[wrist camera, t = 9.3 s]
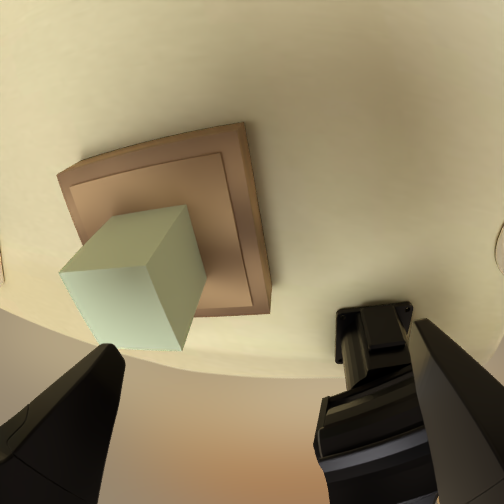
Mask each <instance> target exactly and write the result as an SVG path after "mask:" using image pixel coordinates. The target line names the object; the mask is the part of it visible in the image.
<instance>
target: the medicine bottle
mask: <svg viewBox="0 0 504 504" xmlns="http://www.w3.org/2000/svg"><path fill="white" fill-rule="evenodd" d="M3 283H4V277H3V270H2V263H1V255H0V286H1V285H2V284H3Z"/></svg>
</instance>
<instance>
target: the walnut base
mask: <svg viewBox="0 0 504 504" xmlns="http://www.w3.org/2000/svg"><path fill="white" fill-rule="evenodd" d="M57 178H58V181H59V184H60V187H61V190H62V193H63V196H64V199H65V201H66V204H67V207H68V209H69V212H70V215H71V217H72V220H73V222H74V225H75V228H76V230H77V232H78V235H79V237H80V240H81V242H82V244H83V245H84V244H85V243H86V242H87V241H88V240H89V239H90V238H91V237H92V236H93V235H94V234H95V233H96V232H97V231H98V230H99V229H100V228H101V227H102V226H103V225H104V224H105V223H106V222H107V221H108V220H109V219H110V218H111V217H112V216H117V215H123V214H129V213H134V212H140V211H146V210H153V209H159V208H165V207H172V206H178V205H185V204H186V205H187V209H188V212H189V216H190V220H191V224H192V227H193V231H194V234H195V238H196V242H197V245H198V249H199V252H200V256H201V259H202V263H203V266H204V270H205V273H206V276H207V280H206V282H205V285H204V288H203V291H202V294H201V297H200V300H199V303H198V306H197V309H196V311H195V314H194V317H219V316H240V315H258V314H270V307H271V293H272V284H271V277H270V271H269V265H268V259H267V253H266V247H265V241H264V235H263V229H262V223H261V217H260V211H259V205H258V199H257V193H256V188H255V182H254V176H253V170H252V164H251V159H250V153H249V147H248V142H247V136H246V131H245V125H244V122H241V123H235V124H229V125H223V126H217V127H212V128H206V129H201V130H196V131H191V132H186V133H182V134H177V135H173V136H168V137H164V138H160V139H156V140H152V141H148V142H144V143H140V144H136V145H132V146H128V147H125V148H121V149H118V150H114V151H111V152H107V153H104V154H101V155H97V156H94V157H91V158H88V159H85V160H82V161H79V162H78V163H76V164H74V165H72V166H71V167H69V168H67V169H65V170H64V171H62V172H60V173H59V174H57Z"/></svg>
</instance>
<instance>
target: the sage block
mask: <svg viewBox="0 0 504 504" xmlns="http://www.w3.org/2000/svg"><path fill="white" fill-rule="evenodd" d="M59 275H60V277H61V279H62V281H63V283H64V285H65V286H66V288H67V290H68V292H69V294H70V296H71V298H72V300H73V301H74V303H75V305H76V307H77V309H78V310H79V312H80V314H81V316H82V317H83V319H84V321H85V322H86V324H87V326H88V327H89V329H90V331H91V332H92V334H93V336H94V337H95V339H96V340H97V342H98V343H99V345H100V344H102V343H112V344H114V345H115V346H116V348H118V349H134V350H156V351H182V350H183V347H184V344H185V341H186V338H187V335H188V332H189V329H190V326H191V323H192V320H193V317H194V314H195V311H196V309H197V306H198V303H199V300H200V297H201V294H202V291H203V288H204V285H205V282H206V280H207V276H206V273H205V270H204V266H203V263H202V259H201V256H200V252H199V249H198V245H197V242H196V238H195V234H194V231H193V227H192V224H191V220H190V216H189V212H188V209H187V205H186V204H185V205H178V206H172V207H165V208H159V209H153V210H146V211H140V212H134V213H129V214H123V215H117V216H112V217H111V218H110V219H109V220H108V221H107V222H106V223H105V224H104V225H103V226H102V227H101V228H100V229H99V230H98V231H97V232H96V233H95V234H94V235H93V236H92V237H91V238H90V239H89V240H88V241H87V242H86V243H85V244H84V245H83V247H82V248H81V249H80V250H79V251H78V252H77V253H76V254H75V255H74V256H73V257H72V258H71V259H70V260H69V262H68V263H67V264H66V265H65V266H64V267H63V268H62V269H61V270H60V272H59Z"/></svg>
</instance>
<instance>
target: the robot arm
mask: <svg viewBox="0 0 504 504" xmlns="http://www.w3.org/2000/svg"><path fill="white" fill-rule="evenodd" d="M406 308H407V309H406ZM412 312H413V306H412V304H411V303H410V302H403V303H396V304H388V305H379V306H371V307H362V308H353V309H343V310H339V311H338V312H337V313H336V337H335V362H336V363H337V364H344V371H345V379H346V388H347V391H345V392H342V393H339V394H337V395H334V396H331V397H330V396H328V397H325V398H322V403H321V408H320V413H319V418H318V423H317V428H316V433H315V438H314V443H313V447H314V450H315V454H316V457H317V460H318V463H319V465H320V467H321V468H322V470H323V472H324V475H325V478H326V482H327V486H328V492H329V499H330V504H437V498H438V496H439V501H440V504H504V386H503V385H501V383H500V382H498V381H497V380H496V379H495V378H494V377H493V376H492V375H491V374H490V373H489V372H488V371H487V370H486V369H484V368H483V367H482V366H481V365H480V364H479V363H478V362H477V361H476V360H475V359H473V358H472V357H471V356H470V355H469V354H468V353H467V352H466V351H465V350H463V349H462V348H461V347H460V346H459V345H458V344H457V343H455V342H454V341H453V340H452V339H451V338H450V337H449V336H447V335H446V334H445V333H444V332H443V331H442V330H440V329H439V328H438V327H437V326H436V325H435V324H433V323H432V322H431V321H430V320H429V319H427V318H423V319H418V320H414V321H413V323H412V326H411V332H410V337H409V339H408V337H407V334H408V329H409V325H410V321H411V316H412ZM342 315H344V316H342ZM341 316H342V317H341ZM124 371H125V360H124V358H123V357H122V355H121V354H120V352H119V351H118V349H117V348H116V346H115V345H114V344H112V343H102V344H100V345H99V346H98V347H97V348H95V349H94V350H93V351H92V352H90V353H89V354H88V355H87V356H86V357H84V358H83V359H82V360H81V361H79V362H78V363H77V364H76V365H75V366H73V367H72V368H71V369H70V370H69V371H67V372H66V373H65V374H64V375H63V376H61V377H60V378H59V379H58V380H57V381H55V382H54V383H53V384H52V385H51V386H49V387H48V388H47V389H46V390H45V391H43V392H42V393H41V394H40V395H39V396H38V397H36V398H35V399H34V400H33V401H32V402H31V403H30V404H28V405H27V406H26V407H24V408H23V409H22V410H21V411H20V412H18V413H17V414H16V415H15V416H14V417H12V418H11V419H10V420H8V421H7V422H6V423H4V424H3V425H2V426H0V504H97V503H98V498H99V491H100V487H101V482H102V476H103V471H104V467H105V462H106V457H107V453H108V448H109V444H110V440H111V435H112V431H113V427H114V423H115V419H116V415H117V411H118V407H119V402H120V396H121V389H122V383H123V377H124Z"/></svg>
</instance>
